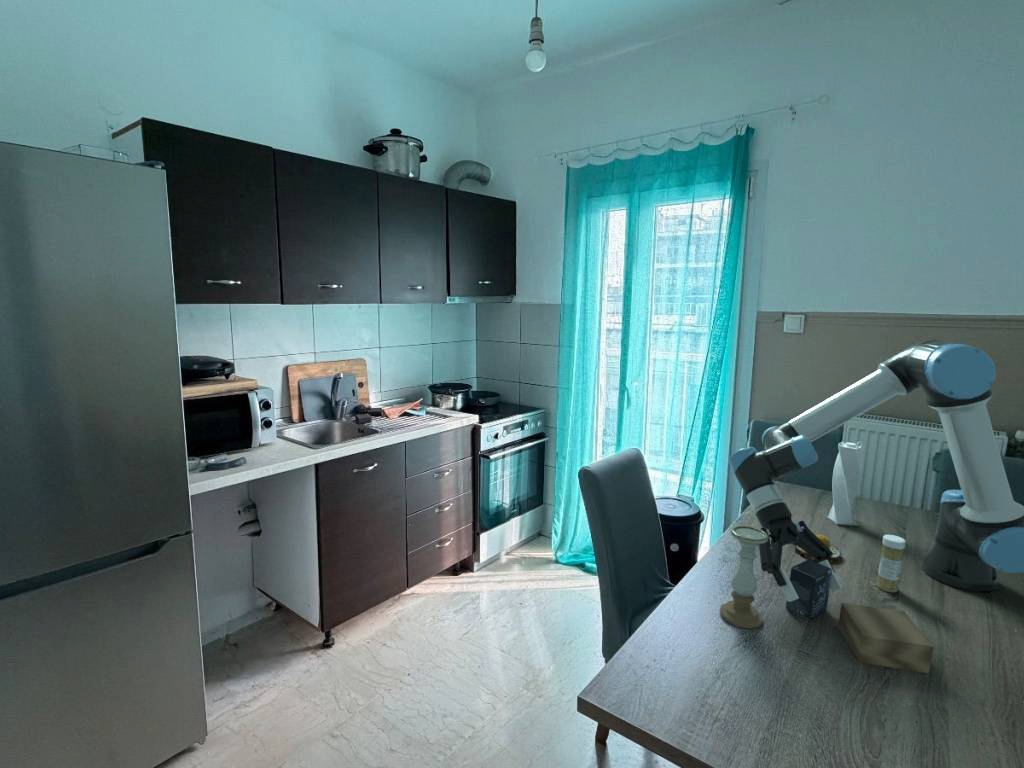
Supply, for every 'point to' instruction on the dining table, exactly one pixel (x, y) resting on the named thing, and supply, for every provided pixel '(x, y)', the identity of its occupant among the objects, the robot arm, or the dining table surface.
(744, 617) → the candle holder
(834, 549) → the burger
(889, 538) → the sprinkles bottle
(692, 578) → the dining table surface
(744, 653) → the dining table surface
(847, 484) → the skyscraper
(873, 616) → the tan square block
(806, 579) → the box
